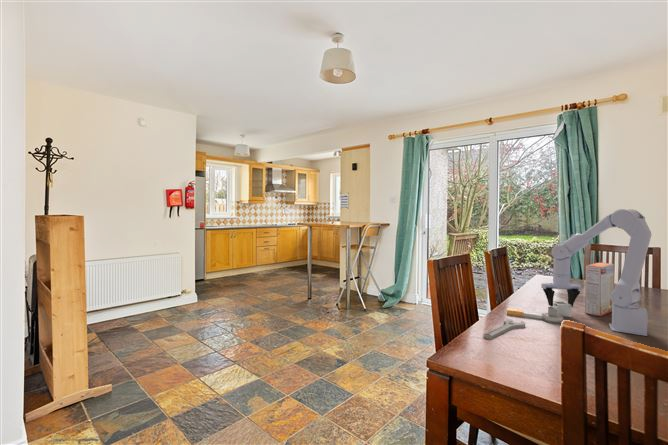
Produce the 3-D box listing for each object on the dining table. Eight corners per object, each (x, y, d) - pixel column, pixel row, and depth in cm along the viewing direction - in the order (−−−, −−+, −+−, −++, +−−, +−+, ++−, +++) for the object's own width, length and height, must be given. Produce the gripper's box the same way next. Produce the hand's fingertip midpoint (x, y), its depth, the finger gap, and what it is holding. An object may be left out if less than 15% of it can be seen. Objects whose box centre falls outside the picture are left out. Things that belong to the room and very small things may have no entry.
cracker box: (596, 308, 147) (598, 262, 147) (613, 311, 142) (615, 263, 141) (583, 313, 140) (584, 264, 139) (600, 317, 135) (602, 266, 134)
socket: (563, 313, 140) (564, 301, 140) (571, 316, 134) (571, 304, 134) (550, 312, 141) (550, 300, 140) (556, 316, 135) (557, 304, 135)
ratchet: (562, 319, 131) (563, 307, 131) (563, 324, 125) (563, 311, 125) (507, 311, 142) (508, 300, 141) (506, 315, 136) (506, 304, 135)
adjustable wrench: (489, 341, 110) (489, 336, 110) (472, 335, 115) (472, 330, 115) (527, 327, 124) (527, 322, 124) (510, 322, 129) (510, 317, 129)
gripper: (574, 272, 140) (573, 304, 140) (538, 271, 142) (537, 302, 142) (584, 275, 133) (583, 309, 133) (546, 274, 135) (545, 307, 135)
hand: (560, 306), depth 137 cm, fingers open, 7 cm apart
